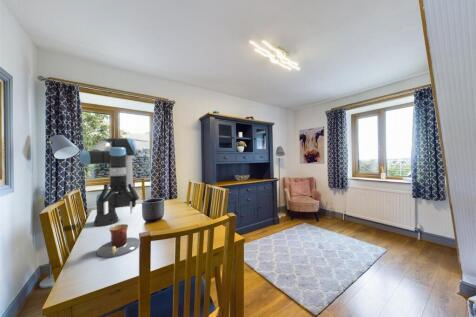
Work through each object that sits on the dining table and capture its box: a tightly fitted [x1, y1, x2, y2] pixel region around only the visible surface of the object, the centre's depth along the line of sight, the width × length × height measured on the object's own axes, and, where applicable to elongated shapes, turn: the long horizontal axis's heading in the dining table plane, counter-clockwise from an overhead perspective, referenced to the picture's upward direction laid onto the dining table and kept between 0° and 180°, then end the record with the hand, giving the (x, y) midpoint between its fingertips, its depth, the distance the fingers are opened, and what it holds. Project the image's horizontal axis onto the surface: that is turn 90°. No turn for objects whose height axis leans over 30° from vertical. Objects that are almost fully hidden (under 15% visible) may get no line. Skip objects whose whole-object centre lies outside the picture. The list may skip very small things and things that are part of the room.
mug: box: [108, 223, 129, 248], centre depth 101 cm, size 12×9×10 cm
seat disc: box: [96, 237, 140, 259], centre depth 102 cm, size 20×20×5 cm
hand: (119, 213), depth 102 cm, fingers open, 13 cm apart
